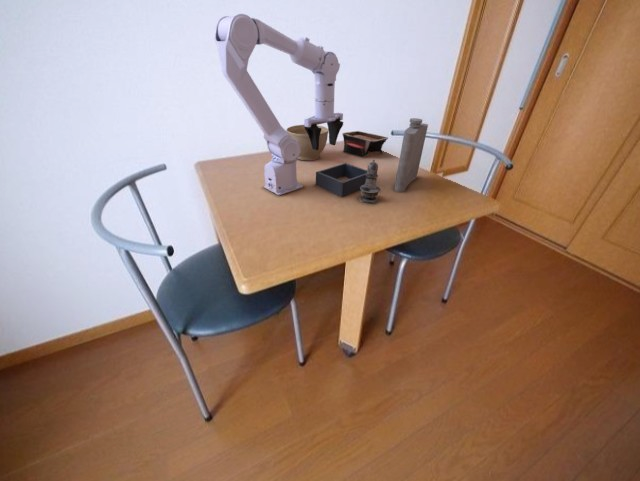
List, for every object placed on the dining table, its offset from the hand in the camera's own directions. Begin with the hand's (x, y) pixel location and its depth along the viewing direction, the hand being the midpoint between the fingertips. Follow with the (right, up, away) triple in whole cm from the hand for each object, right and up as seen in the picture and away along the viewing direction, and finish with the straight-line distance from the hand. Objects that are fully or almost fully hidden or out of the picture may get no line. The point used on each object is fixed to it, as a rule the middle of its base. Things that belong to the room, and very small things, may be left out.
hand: (324, 146), depth 92 cm
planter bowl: (-6, +4, +24) cm, 25 cm away
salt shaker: (+13, -18, -8) cm, 24 cm away
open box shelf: (+6, -12, +1) cm, 14 cm away
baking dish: (+17, +8, +31) cm, 36 cm away
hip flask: (+27, -11, +3) cm, 29 cm away
